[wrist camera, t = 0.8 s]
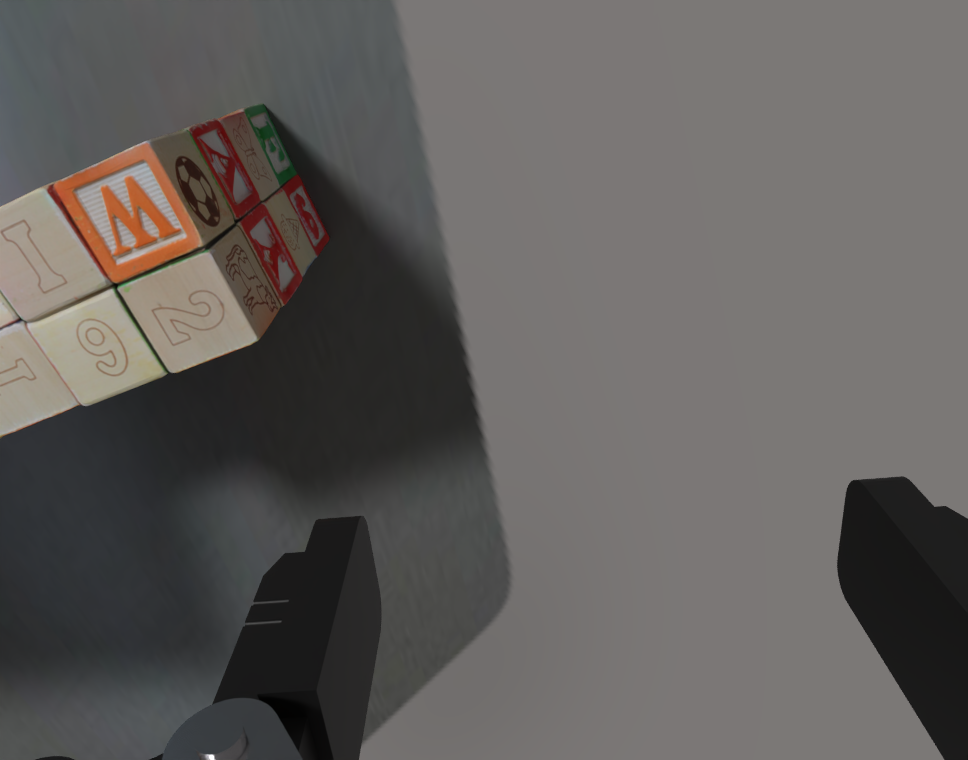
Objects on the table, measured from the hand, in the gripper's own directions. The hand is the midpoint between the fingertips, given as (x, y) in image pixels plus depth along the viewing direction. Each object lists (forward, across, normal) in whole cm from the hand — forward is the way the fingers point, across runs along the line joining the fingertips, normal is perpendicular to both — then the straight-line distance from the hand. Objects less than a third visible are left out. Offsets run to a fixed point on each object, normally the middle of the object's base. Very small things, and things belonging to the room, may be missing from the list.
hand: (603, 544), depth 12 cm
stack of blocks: (+23, +20, 0) cm, 31 cm away
